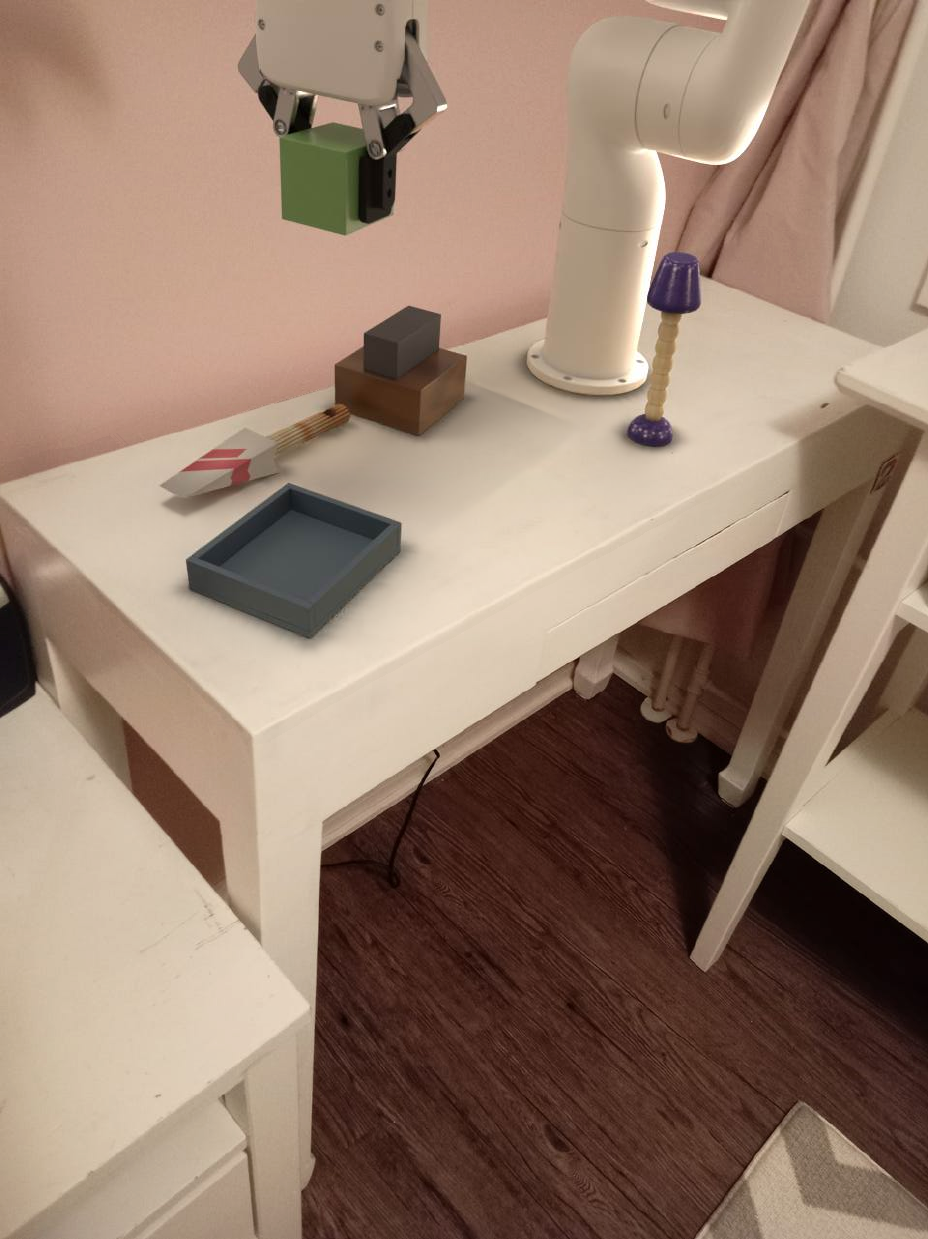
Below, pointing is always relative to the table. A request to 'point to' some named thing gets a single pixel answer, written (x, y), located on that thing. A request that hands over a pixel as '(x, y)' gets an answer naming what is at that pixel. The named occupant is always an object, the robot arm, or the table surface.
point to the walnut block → (402, 391)
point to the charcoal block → (401, 342)
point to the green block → (323, 177)
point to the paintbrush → (250, 454)
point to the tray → (295, 558)
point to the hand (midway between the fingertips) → (338, 206)
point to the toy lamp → (666, 340)
